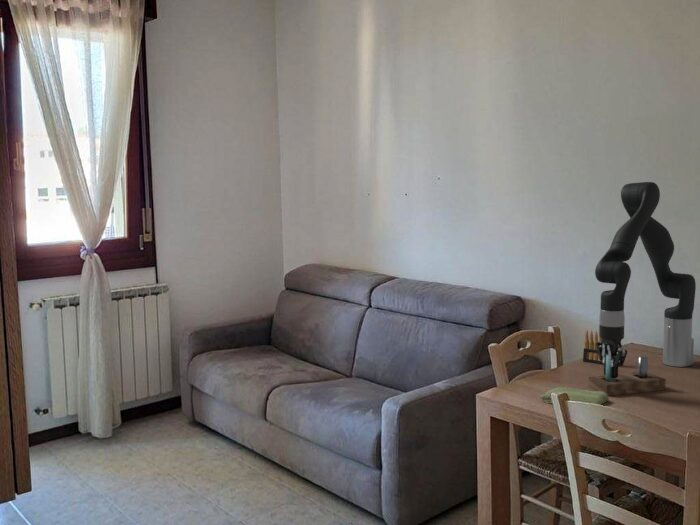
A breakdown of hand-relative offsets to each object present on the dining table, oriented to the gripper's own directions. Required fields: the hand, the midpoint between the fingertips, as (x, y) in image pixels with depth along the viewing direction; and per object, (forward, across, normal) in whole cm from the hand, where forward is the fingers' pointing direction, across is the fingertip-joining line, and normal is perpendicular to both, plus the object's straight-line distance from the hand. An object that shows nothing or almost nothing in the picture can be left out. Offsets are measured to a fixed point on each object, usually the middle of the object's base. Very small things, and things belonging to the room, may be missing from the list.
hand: (610, 376), depth 232 cm
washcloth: (+5, -7, +17) cm, 19 cm away
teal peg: (+3, 0, 0) cm, 3 cm away
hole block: (+5, 0, -6) cm, 8 cm away
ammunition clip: (+5, +31, -16) cm, 35 cm away
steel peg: (+5, 0, -12) cm, 13 cm away
